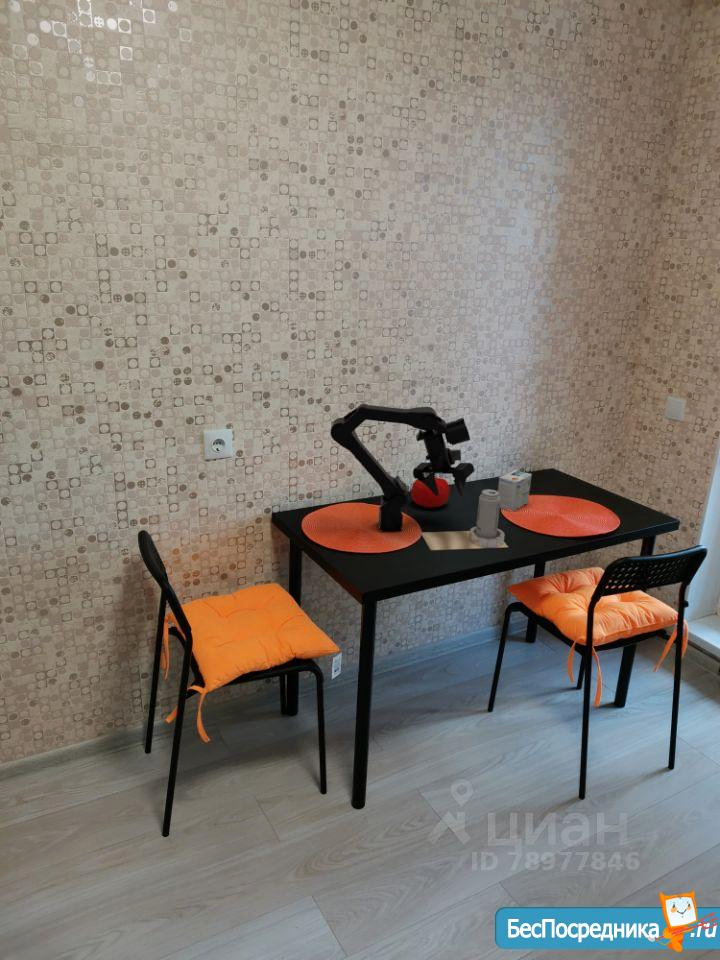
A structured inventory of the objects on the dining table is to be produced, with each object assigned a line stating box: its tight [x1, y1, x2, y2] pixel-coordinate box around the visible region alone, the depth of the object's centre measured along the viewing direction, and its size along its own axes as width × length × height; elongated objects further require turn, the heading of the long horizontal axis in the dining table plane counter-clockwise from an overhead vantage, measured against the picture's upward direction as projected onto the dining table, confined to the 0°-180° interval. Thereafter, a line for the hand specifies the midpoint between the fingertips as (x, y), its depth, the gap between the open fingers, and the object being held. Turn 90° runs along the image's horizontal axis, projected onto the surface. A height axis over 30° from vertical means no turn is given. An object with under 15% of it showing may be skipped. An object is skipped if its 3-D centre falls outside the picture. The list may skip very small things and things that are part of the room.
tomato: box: [410, 475, 451, 508], centre depth 241 cm, size 11×13×10 cm
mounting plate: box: [420, 530, 509, 551], centre depth 215 cm, size 23×12×1 cm, turn 100°
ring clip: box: [469, 526, 505, 549], centre depth 214 cm, size 10×10×2 cm
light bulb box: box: [497, 469, 533, 512], centre depth 243 cm, size 11×7×11 cm, turn 141°
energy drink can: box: [475, 488, 501, 538], centre depth 212 cm, size 6×6×15 cm
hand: (450, 495), depth 221 cm, fingers open, 9 cm apart
